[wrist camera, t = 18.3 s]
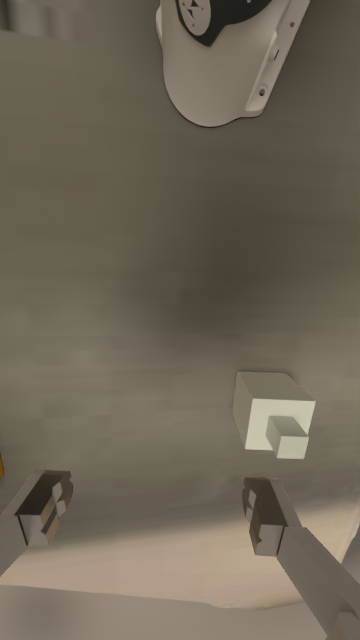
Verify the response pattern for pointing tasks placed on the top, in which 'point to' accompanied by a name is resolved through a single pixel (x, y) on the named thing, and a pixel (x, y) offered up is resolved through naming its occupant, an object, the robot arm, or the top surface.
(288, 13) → the robot arm
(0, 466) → the supplement box
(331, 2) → the top surface
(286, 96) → the top surface
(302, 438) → the pale sage box
